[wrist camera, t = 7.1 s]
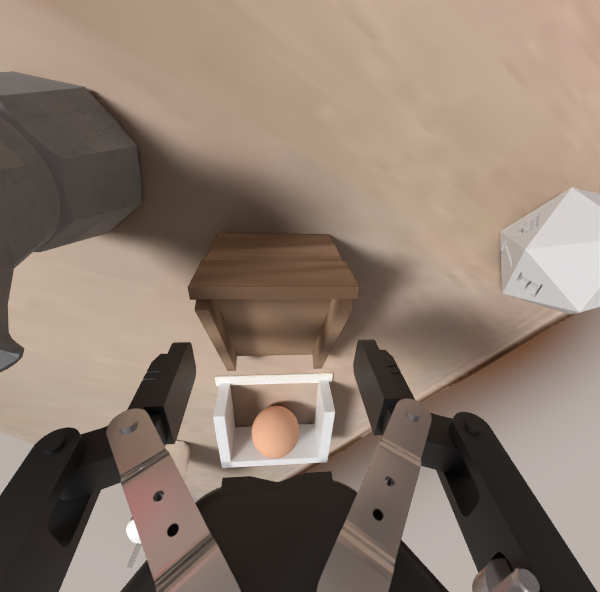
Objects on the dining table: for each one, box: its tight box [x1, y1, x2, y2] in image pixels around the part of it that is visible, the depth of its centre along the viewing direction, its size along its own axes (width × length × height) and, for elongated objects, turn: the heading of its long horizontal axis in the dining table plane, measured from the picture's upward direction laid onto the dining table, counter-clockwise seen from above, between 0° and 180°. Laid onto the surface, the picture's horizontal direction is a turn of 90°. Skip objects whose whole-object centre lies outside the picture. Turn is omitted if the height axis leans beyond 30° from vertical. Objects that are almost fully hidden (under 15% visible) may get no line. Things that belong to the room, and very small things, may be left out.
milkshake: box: [126, 440, 190, 567], centre depth 30 cm, size 4×5×10 cm
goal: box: [213, 380, 335, 468], centre depth 30 cm, size 8×11×4 cm
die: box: [500, 187, 600, 314], centre depth 20 cm, size 8×9×10 cm
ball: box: [252, 406, 299, 459], centre depth 30 cm, size 5×5×5 cm
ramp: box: [188, 233, 359, 371], centre depth 21 cm, size 12×8×9 cm
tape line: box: [215, 373, 333, 386], centre depth 30 cm, size 1×12×1 cm, turn 87°
